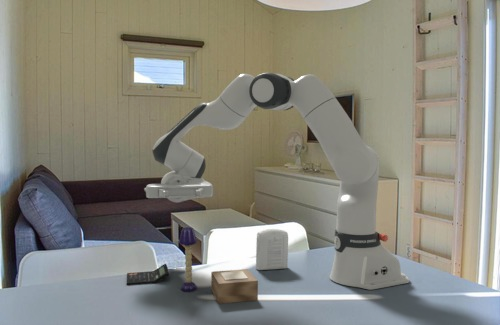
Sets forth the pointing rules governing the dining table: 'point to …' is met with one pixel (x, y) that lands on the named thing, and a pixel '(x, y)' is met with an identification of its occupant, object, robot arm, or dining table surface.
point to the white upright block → (272, 249)
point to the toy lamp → (188, 257)
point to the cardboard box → (234, 286)
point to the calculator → (148, 276)
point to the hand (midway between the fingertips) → (182, 194)
